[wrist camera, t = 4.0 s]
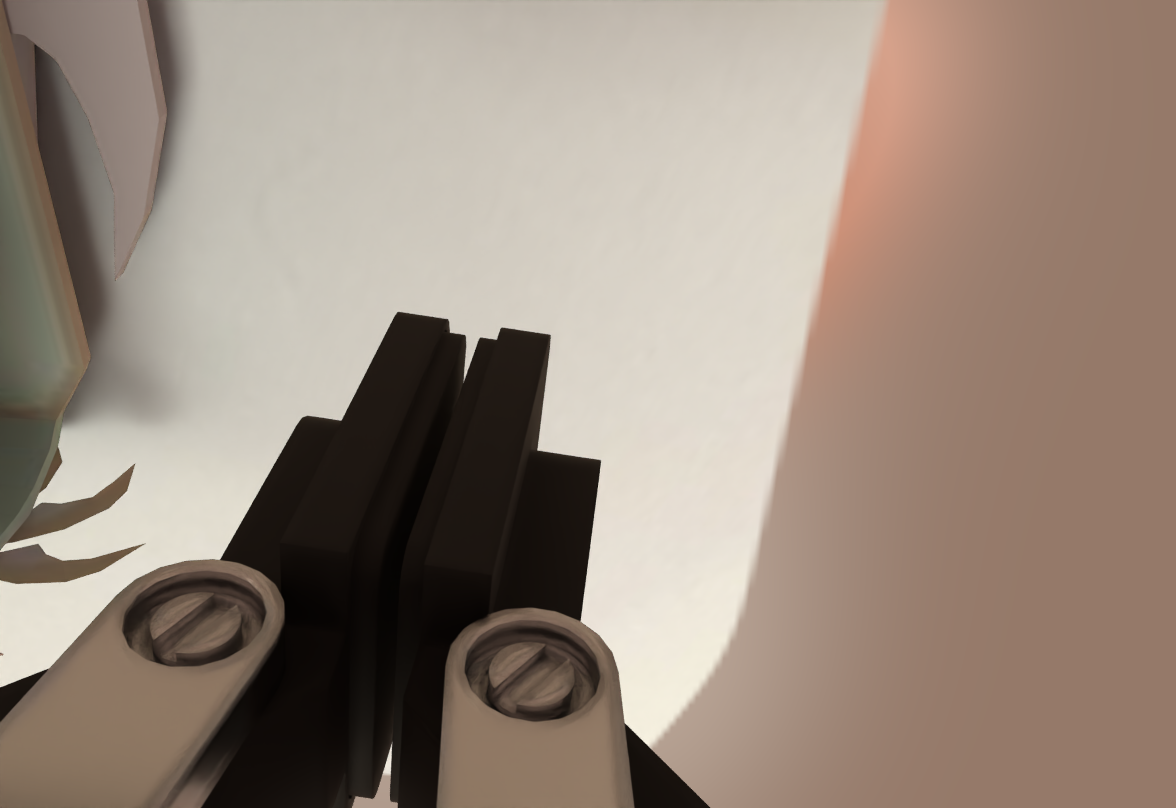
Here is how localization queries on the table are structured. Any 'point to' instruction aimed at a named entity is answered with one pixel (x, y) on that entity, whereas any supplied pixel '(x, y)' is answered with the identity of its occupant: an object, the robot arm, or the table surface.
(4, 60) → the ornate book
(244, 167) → the table surface
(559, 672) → the robot arm
